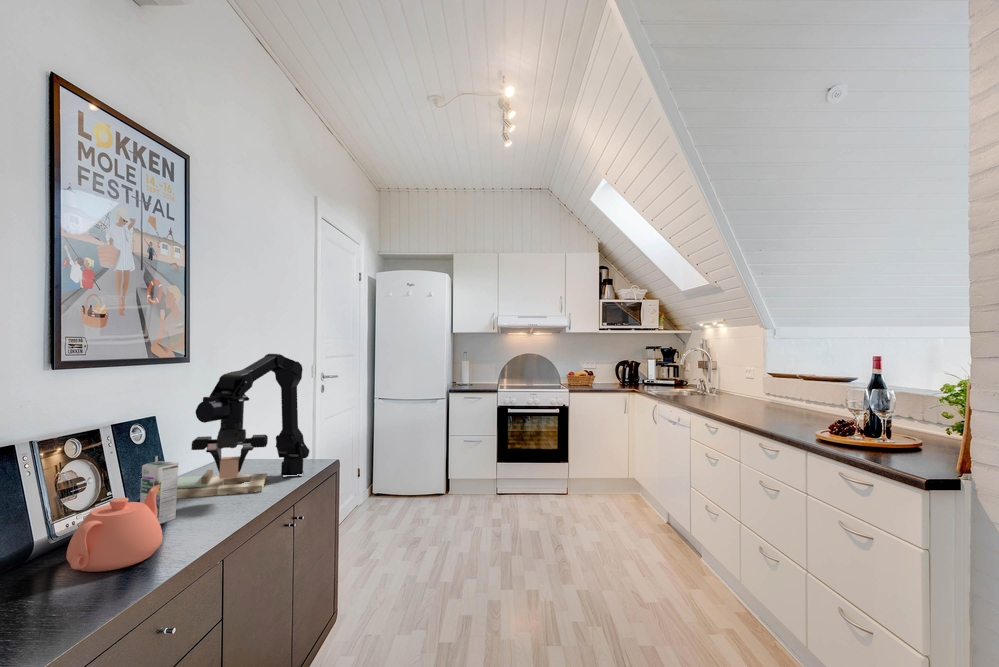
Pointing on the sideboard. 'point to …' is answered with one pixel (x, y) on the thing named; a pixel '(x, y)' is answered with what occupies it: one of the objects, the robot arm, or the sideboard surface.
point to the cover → (195, 480)
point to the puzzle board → (226, 486)
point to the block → (229, 467)
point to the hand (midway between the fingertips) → (229, 472)
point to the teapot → (116, 535)
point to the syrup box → (161, 487)
